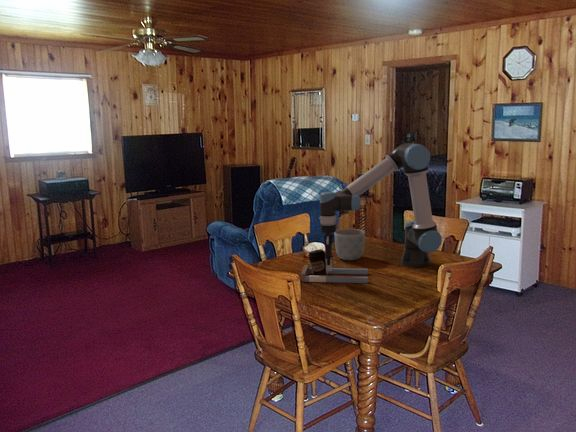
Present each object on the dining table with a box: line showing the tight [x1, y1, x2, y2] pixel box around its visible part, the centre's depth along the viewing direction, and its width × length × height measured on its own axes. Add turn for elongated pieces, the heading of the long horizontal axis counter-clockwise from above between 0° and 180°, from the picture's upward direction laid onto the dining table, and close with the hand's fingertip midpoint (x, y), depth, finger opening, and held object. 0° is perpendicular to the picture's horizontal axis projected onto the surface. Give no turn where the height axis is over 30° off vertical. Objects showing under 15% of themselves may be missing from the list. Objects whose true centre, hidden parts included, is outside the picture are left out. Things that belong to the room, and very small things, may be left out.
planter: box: [333, 228, 366, 262], centre depth 291 cm, size 17×17×15 cm
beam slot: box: [300, 264, 369, 284], centre depth 259 cm, size 32×15×4 cm, turn 81°
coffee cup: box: [307, 248, 328, 276], centre depth 260 cm, size 9×8×13 cm
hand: (328, 270), depth 259 cm, fingers closed
